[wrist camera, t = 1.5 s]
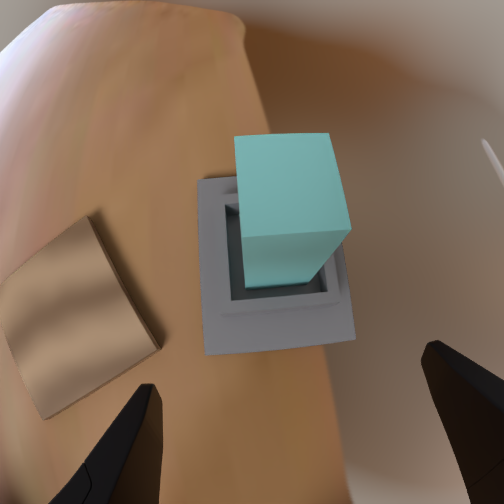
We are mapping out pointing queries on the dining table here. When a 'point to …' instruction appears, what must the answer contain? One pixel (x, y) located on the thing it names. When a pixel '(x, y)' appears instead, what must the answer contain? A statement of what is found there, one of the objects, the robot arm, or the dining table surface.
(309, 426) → the dining table surface
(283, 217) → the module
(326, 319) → the case base
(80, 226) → the board
